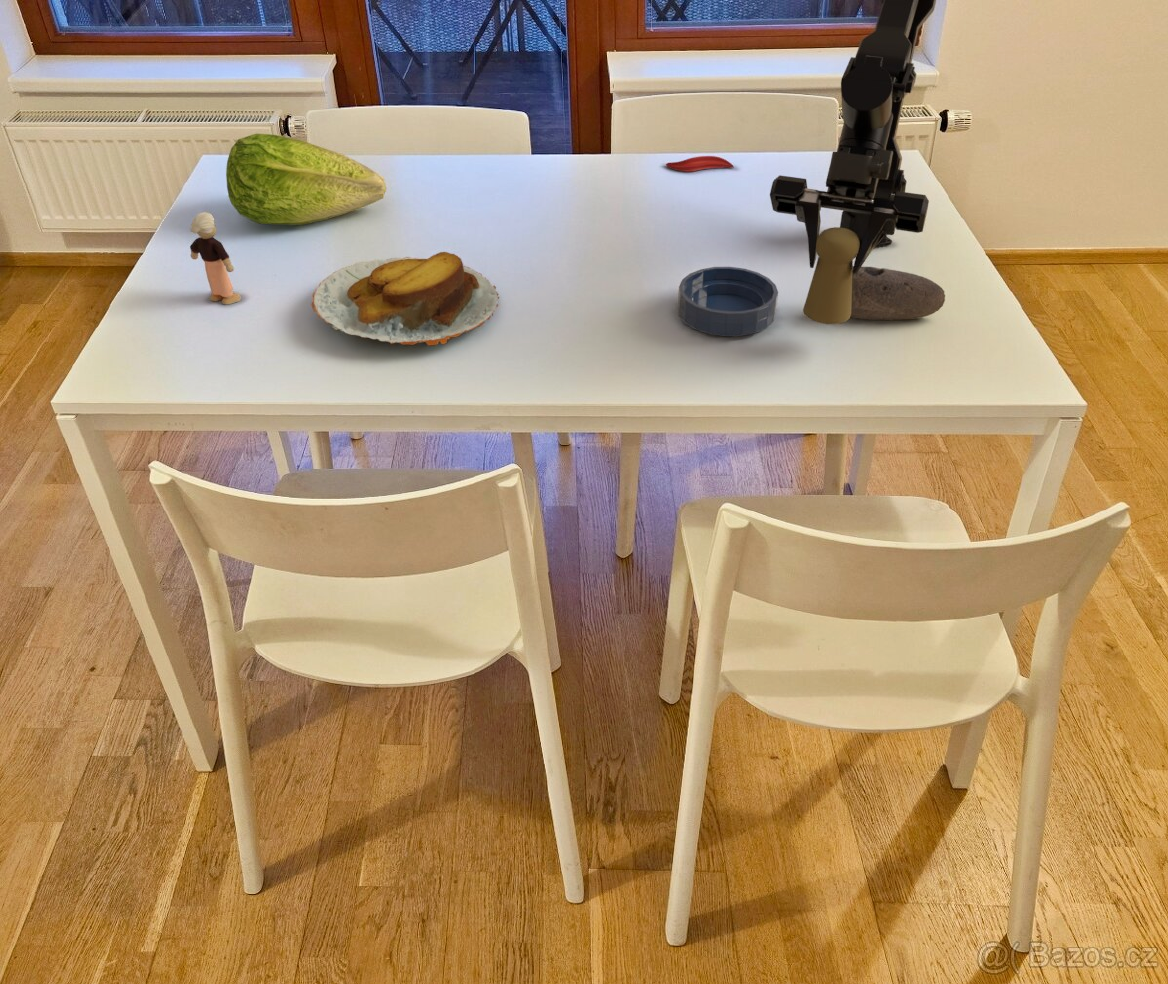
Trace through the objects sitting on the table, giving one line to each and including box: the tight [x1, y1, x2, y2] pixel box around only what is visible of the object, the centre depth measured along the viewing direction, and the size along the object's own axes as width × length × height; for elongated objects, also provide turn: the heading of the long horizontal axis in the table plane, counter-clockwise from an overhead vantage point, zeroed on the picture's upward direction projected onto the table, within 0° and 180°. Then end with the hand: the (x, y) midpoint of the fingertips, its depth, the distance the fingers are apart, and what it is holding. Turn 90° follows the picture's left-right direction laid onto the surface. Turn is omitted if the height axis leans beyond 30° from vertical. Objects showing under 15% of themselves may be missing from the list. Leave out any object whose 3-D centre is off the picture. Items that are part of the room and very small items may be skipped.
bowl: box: [677, 266, 779, 337], centre depth 140 cm, size 13×13×4 cm
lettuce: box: [225, 133, 387, 226], centre depth 164 cm, size 15×24×14 cm, turn 98°
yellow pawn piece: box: [802, 226, 860, 325], centre depth 128 cm, size 6×6×11 cm
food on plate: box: [311, 251, 500, 346], centre depth 141 cm, size 25×25×7 cm
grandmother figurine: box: [189, 211, 242, 305], centre depth 142 cm, size 8×4×13 cm, turn 71°
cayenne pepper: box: [665, 155, 735, 172], centre depth 181 cm, size 12×5×2 cm, turn 79°
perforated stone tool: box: [850, 265, 946, 321], centre depth 139 cm, size 15×5×7 cm, turn 83°
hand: (832, 270), depth 126 cm, fingers closed on yellow pawn piece, 5 cm apart
